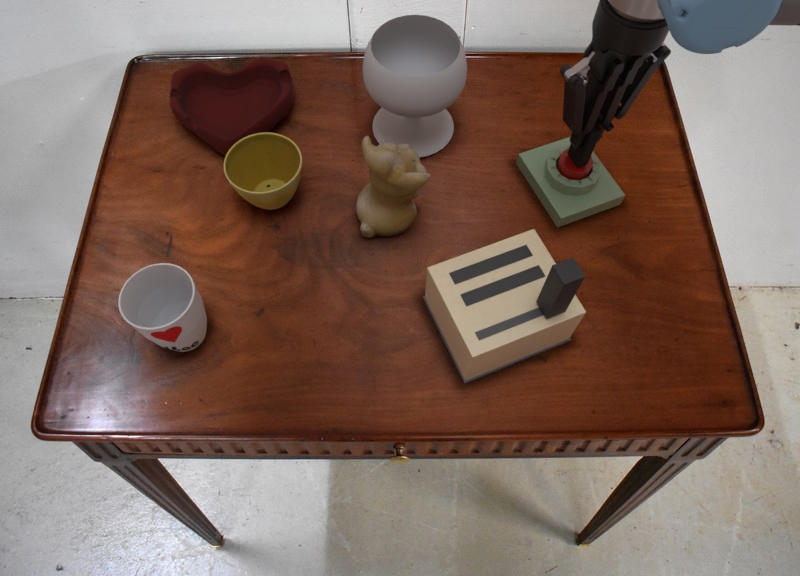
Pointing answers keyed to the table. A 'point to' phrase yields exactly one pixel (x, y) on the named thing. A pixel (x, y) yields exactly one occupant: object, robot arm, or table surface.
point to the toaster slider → (560, 288)
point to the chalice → (414, 81)
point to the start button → (572, 167)
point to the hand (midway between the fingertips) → (577, 158)
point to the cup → (164, 307)
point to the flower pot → (264, 169)
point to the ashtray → (231, 100)
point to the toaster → (496, 306)
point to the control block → (568, 185)
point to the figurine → (389, 188)
